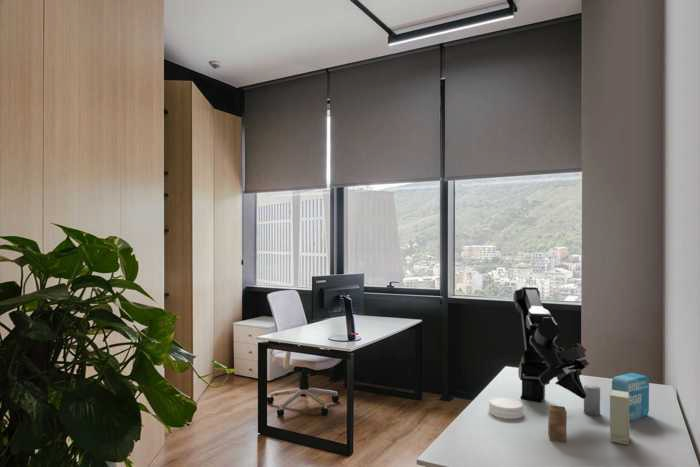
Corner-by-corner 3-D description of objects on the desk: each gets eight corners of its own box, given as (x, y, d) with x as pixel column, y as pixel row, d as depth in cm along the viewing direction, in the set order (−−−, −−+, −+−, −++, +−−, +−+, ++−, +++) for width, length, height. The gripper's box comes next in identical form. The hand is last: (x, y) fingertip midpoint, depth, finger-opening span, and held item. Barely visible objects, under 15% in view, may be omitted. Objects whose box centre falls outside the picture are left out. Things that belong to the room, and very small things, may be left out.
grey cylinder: (583, 413, 142) (583, 387, 142) (584, 409, 146) (584, 383, 146) (599, 417, 140) (599, 390, 140) (600, 412, 143) (600, 386, 143)
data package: (626, 422, 136) (626, 381, 136) (611, 417, 140) (611, 377, 140) (649, 415, 142) (649, 375, 142) (634, 410, 146) (634, 371, 146)
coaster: (515, 407, 147) (515, 396, 147) (529, 420, 137) (529, 408, 137) (484, 408, 146) (484, 396, 146) (495, 420, 136) (496, 408, 136)
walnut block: (549, 440, 122) (550, 410, 123) (548, 434, 126) (548, 405, 126) (566, 442, 121) (566, 412, 121) (564, 436, 125) (564, 406, 125)
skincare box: (628, 445, 120) (629, 398, 120) (609, 441, 122) (609, 395, 123) (629, 437, 125) (629, 391, 126) (610, 433, 128) (610, 388, 128)
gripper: (549, 338, 130) (589, 388, 121) (582, 331, 141) (621, 376, 132) (523, 360, 136) (560, 410, 127) (557, 352, 147) (592, 396, 138)
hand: (584, 397), depth 131 cm, fingers closed
